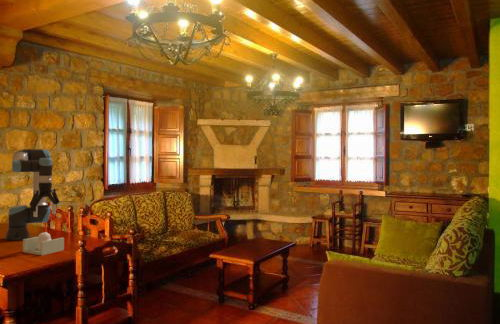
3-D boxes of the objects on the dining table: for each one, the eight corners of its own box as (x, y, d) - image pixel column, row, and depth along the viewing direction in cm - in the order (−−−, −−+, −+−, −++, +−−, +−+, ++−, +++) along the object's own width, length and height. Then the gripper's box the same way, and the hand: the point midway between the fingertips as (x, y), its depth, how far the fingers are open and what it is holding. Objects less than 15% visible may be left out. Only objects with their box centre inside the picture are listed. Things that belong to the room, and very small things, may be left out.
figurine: (54, 249, 266) (55, 230, 266) (50, 252, 257) (50, 233, 257) (38, 249, 265) (38, 230, 265) (33, 252, 255) (33, 233, 255)
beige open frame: (22, 252, 256) (23, 239, 256) (45, 246, 271) (45, 235, 271) (42, 255, 249) (42, 242, 249) (64, 250, 265) (64, 237, 264)
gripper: (32, 183, 247) (31, 218, 248) (65, 181, 270) (64, 213, 271) (23, 182, 250) (22, 217, 251) (57, 180, 273) (56, 212, 274)
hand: (44, 215), depth 261 cm, fingers open, 13 cm apart
